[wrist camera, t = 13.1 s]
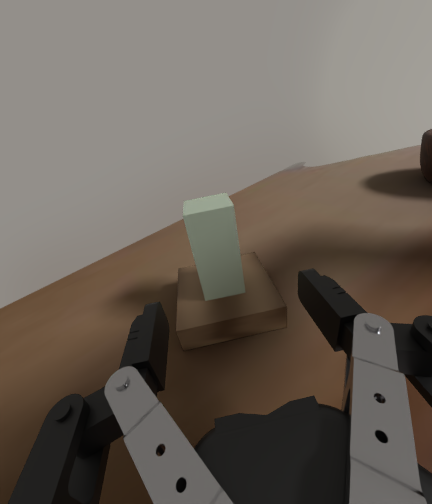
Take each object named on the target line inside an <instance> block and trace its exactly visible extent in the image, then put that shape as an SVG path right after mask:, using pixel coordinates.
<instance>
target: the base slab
mask: <svg viewBox="0 0 432 504" xmlns="http://www.w3.org/2000/svg"><path fill="white" fill-rule="evenodd" d="M240 256H241V263H242V270H243V278H244V285H245V293H242V294H237V295H232V296H227V297H222V298H217V299H212V300H208V301H205V298H204V294H203V290H202V286H201V283H200V279H199V275H198V271H197V267H196V265H193V266H188V267H184V268H179V269H178V292H177V316H176V333H177V336H178V338H179V341H180V343H181V346H182V348H183V351H185V350H189V349H194V348H198V347H202V346H207V345H211V344H216V343H220V342H224V341H229V340H233V339H237V338H242V337H246V336H250V335H255V334H259V333H264V332H268V331H272V330H277V329H281V328H285V327H287V306H286V304H285V303H284V301H283V299H282V298H281V296H280V294H279V292H278V291H277V289H276V287H275V286H274V284H273V282H272V281H271V279H270V277H269V276H268V274H267V272H266V271H265V269H264V267H263V265H262V264H261V262H260V260H259V259H258V257H257V255H256V254H255V252H253V253H248V254H243V255H240Z"/></svg>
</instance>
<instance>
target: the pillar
mask: <svg viewBox="0 0 432 504" xmlns="http://www.w3.org/2000/svg"><path fill="white" fill-rule="evenodd" d="M183 218H184V222H185V226H186V230H187V233H188V237H189V241H190V245H191V249H192V252H193V256H194V260H195V264H196V267H197V271H198V275H199V279H200V283H201V286H202V290H203V294H204V298H205V301H208V300H212V299H217V298H222V297H227V296H232V295H237V294H242V293H245V285H244V278H243V270H242V263H241V256H240V248H239V241H238V234H237V226H236V219H235V211H234V205H233V203H232V202H231V200H230V198H229V197H228V195H227V193H222V194H218V195H212V196H207V197H202V198H198V199H193V200H188V201H184V208H183Z"/></svg>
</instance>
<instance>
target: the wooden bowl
mask: <svg viewBox="0 0 432 504" xmlns="http://www.w3.org/2000/svg"><path fill="white" fill-rule="evenodd" d="M420 165H421V170H422V173H423V175H424V177H425V178H426V179H427V180H428V181H429V182H431V183H432V129H430V130H428V131H426V132H425V133H424V134H423V137H422V143H421V152H420Z"/></svg>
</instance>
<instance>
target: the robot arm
mask: <svg viewBox="0 0 432 504" xmlns="http://www.w3.org/2000/svg"><path fill="white" fill-rule="evenodd" d="M298 296H299V299H300V301H301V303H302V305H303V306H304V307H305V309H306V310H307V312H308V313H309V315H310V316H311V318H312V319H313V321H314V322H315V323H316V325H317V326H318V328H319V329H320V331H321V332H322V334H323V335H324V337H325V338H326V339H327V341H328V342H329V344H330V345H331V347H332V348H333V350H334V351H335V352H336V351H341V350H344V352H345V353H346V354H347V356H346V365H345V378H344V392H343V400H342V407H341V410H339V409H337V408H335V407H332V406H329V405H324V404H318V403H317V401H316V399H315V397H314V396H310V397H306V398H302V399H298V400H293V401H290V402H288V403H286V404H285V405H283V406H281V407H280V408H278V409H276V410H275V411H273V412H271V413H270V414H268V415H257V414H243V413H238V414H234V415H229V416H225V417H221V418H217V419H215V428H213V429H212V430H210V431H209V432H208V433H207V434H205V435H204V437H203V438H202V439H201V440H200V441H199V442H198V444H197V445H196V446H195V448H193V447H192V446H191V444H190V443H189V441H188V440H187V439H186V437H185V436H184V434H183V433H182V432H181V430H180V429H179V427H178V426H177V425H176V423H175V422H174V420H173V419H172V418H171V416H170V415H169V413H168V412H167V410H166V409H165V408H164V406H163V405H162V404H161V402H160V401H159V400H158V399H157V398H156V397H157V392H158V391H163V390H164V389H165V377H166V364H167V352H168V339H169V324H168V320H167V318H166V315H165V313H164V310H163V308H162V305H161V303H160V302H155V303H150V304H146V305H145V307H144V312H143V315H139V316H137V317H136V319H135V320H134V321H133V323H132V325H131V328H130V332H129V333H130V334H129V335H128V339H127V340H128V341H127V343H126V346H125V350H124V353H123V357H122V360H121V364H120V367H119V370H118V371H116V372H115V373H114V374H113V375H112V376H111V377H110V378H109V380H108V381H107V383H106V386H105V387H103V388H102V389H100V390H98V391H96V392H94V393H92V394H91V395H89V396H87V397H85V398H83V397H82V396H81V395H79V394H71V395H68V396H66V397H64V398H63V399H61V400H60V401H59V402H58V403H57V404H55V405H54V407H53V408H52V409H51V410H50V411H49V413H48V415H47V416H46V418H45V421H44V423H43V425H42V427H41V430H40V432H39V434H38V436H37V439H36V441H35V443H34V446H33V448H32V450H31V452H30V455H29V457H28V459H27V461H26V464H25V466H24V468H23V470H22V473H21V475H20V477H19V479H18V482H17V484H16V486H15V488H14V491H13V493H12V495H11V498H10V500H9V502H8V504H99V500H100V495H101V490H102V485H103V480H104V474H105V469H106V464H107V459H108V454H109V449H110V444H111V442H113V441H115V440H116V439H118V438H119V437H121V436H123V435H124V437H123V439H124V442H125V444H126V446H127V448H128V451H129V453H130V455H131V457H132V459H133V461H134V463H135V465H136V468H137V470H138V472H139V474H140V476H141V478H142V480H143V482H144V484H145V487H146V489H147V491H148V493H149V495H150V497H151V499H152V501H153V503H154V504H432V473H430V472H429V471H428V470H426V469H425V468H423V467H422V466H421V465H419V464H418V463H417V458H416V451H415V443H414V436H413V429H412V422H411V415H410V408H409V401H408V394H407V387H406V380H405V376H406V377H407V378H408V380H409V381H410V382H411V383H412V384H413V386H414V387H415V388H416V389H417V390H418V392H419V393H420V394H421V395H422V396H423V398H424V399H425V400H426V401H427V402H428V404H429V405H430V406H431V407H432V316H427V315H423V316H418V317H416V318H415V320H414V322H413V324H398V323H389V322H388V321H387V320H386V319H384V318H382V317H380V316H378V315H375V314H371V313H367V312H366V311H365V310H364V309H363V308H362V307H361V306H360V305H359V304H358V303H357V302H356V301H355V300H354V299H353V298H352V297H351V296H350V295H349V294H348V293H346V291H345V290H344V289H343V288H341V287H340V286H339V285H338V284H337V283H336V282H335V281H334V280H333V279H331V278H329V277H327V276H325V275H323V276H320V275H319V274H318V273H317V272H316V271H315V270H314V269H308V270H303V271H299V273H298ZM404 375H405V376H404Z"/></svg>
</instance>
